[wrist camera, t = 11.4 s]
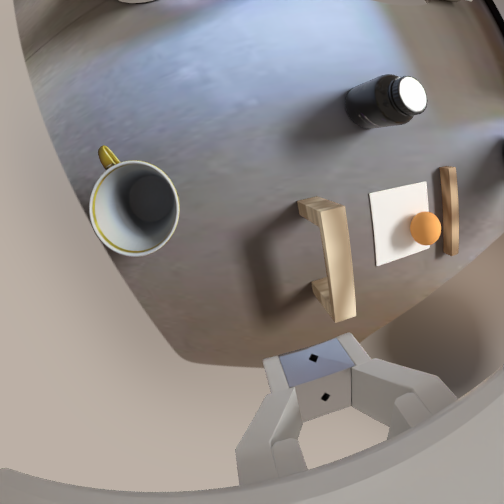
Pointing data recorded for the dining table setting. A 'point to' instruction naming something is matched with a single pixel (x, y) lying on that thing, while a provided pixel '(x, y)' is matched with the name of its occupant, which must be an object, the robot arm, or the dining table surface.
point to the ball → (425, 228)
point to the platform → (447, 0)
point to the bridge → (332, 257)
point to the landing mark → (397, 220)
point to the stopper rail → (450, 210)
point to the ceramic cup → (133, 206)
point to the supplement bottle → (385, 101)
